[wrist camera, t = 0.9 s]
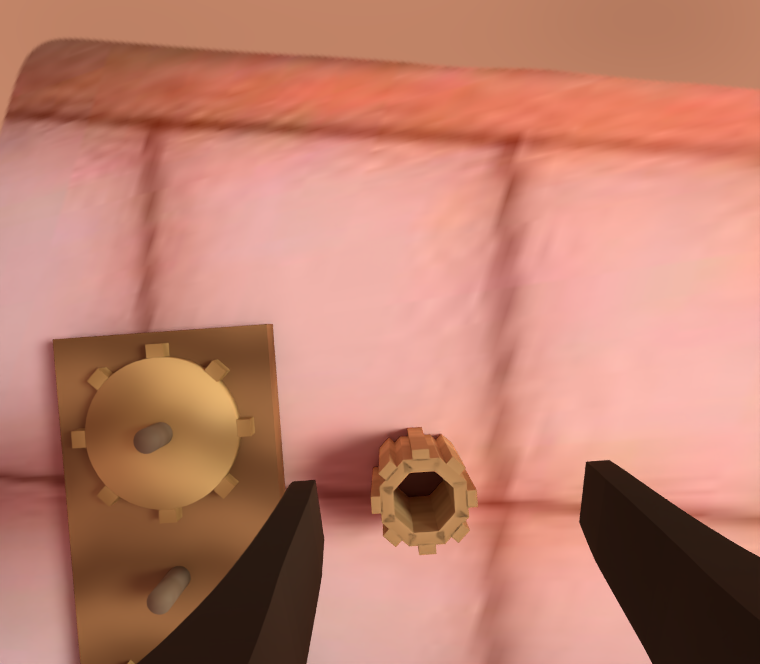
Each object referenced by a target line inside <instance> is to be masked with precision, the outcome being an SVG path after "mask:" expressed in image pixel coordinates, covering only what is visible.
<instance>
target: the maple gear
mask: <svg viewBox="0 0 760 664" xmlns="http://www.w3.org/2000/svg"><path fill="white" fill-rule="evenodd" d="M407 432H408V436H401V437H399V438H398V439H397V440H396V442H394V441H392V440H391V439H390V438H388V439H387V440H386V441H385V442H384V443H383V445H382V446H381V447H380V448H379V467H373V474H372V487H371V508H372V514H380V513H381V516H382V523H383V536H384V537H385V538H386V539H387V540H388V541H389V542H390V543H392V544H393V545H394V546H395V547H396V546H397V545H398V544H399V543H400V542H401V541H402V540H403V541H404V542H405V543H406V544H407V545H408V546H418V549H419V555H427V554H436V544H446V542H447V541H448V540H449V539H450V538H451V537H452V538H453V539H455V540H456V541H457V542H458V543H459V542H460V541H461V540H462V539H463V537H464V536H465V535H466V534H467V533H468V532H469V531H470V530H469V527H468V525H467V522H466V520H467V519H468V518H469V510H468V508H470V507H478V503H477V490H476V488H475V486H474V484H473V483H472V481H471V479H470V477H469V475H468V473H467V472H466V470H465V466H464V464H463V462H462V461H461V459H460V457H459V455H458V453H457V452H456V450H455V448H454V446H453V444H452V443H451V442H450V441H449V440H448V439H446V438H445V437H444V436H443V435H442V434H440V435H439V437H438V438H437V439H434V438H433V437H432V436H431V435H424V433H423V430H422V428H421V427H418V428H407ZM430 471H435V472H436V473H437V474H439V475H440V476H441V477H442V478H443V481H442V482H441V483H440V484H439V485H438V487H437V488H436V489H435V490H434V491H433V492H432V493H431V494H430V496H416V497H408V496H407V495H406V494H405V493H404V492H402V491H401V490H400V489H399V488H398V485H399V484H400V483H401V482H402V481H403V480H404V479H405V477H406V476H407V475H408V474H409V473H415V472H430Z"/></svg>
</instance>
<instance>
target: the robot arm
mask: <svg viewBox="0 0 760 664" xmlns="http://www.w3.org/2000/svg"><path fill="white" fill-rule="evenodd" d="M579 523H580V525H581V528H582V530H583V533H584V535H585V538H586V540H587V543H588V545H589V548H590V550H591V552H592V554H593V557H594V559H595V561H596V563H597V565H598V567H599V569H600V570H601V572H602V574H603V576H604V578H605V579H606V581H607V583H608V585H609V587H610V588H611V590H612V592H613V594H614V595H615V597H616V599H617V601H618V602H619V604H620V606H621V608H622V610H623V611H624V613H625V615H626V617H627V618H628V620H629V622H630V624H631V625H632V627H633V629H634V631H635V632H636V634H637V636H638V638H639V640H640V641H641V643H642V645H643V647H644V648H645V650H646V652H647V654H648V656H649V658H650V660H651V662H652V664H760V557H759V556H757V555H755V554H753V553H751V552H749V551H748V550H746V549H744V548H742V547H741V546H739V545H737V544H735V543H734V542H732V541H730V540H729V539H727V538H726V537H724V536H722V535H721V534H719V533H717V532H716V531H714V530H713V529H711V528H709V527H708V526H706V525H704V524H703V523H701V522H700V521H698V520H697V519H695V518H694V517H692V516H690V515H689V514H687V513H686V512H684V511H683V510H681V509H680V508H678V507H677V506H675V505H674V504H672V503H671V502H669V501H668V500H667V499H665V498H664V497H662V496H661V495H659V494H658V493H656V492H655V491H654V490H652V489H651V488H649V487H648V486H646V485H645V484H644V483H642V482H641V481H639V480H638V479H636V478H635V477H634V476H632V475H631V474H629V473H628V472H626V471H625V470H623V469H622V468H621V467H619V466H618V465H616V464H614V463H613V462H611V461H610V460H604V461H590V462H586V467H585V476H584V485H583V494H582V503H581V511H580V520H579ZM323 550H324V534H323V528H322V521H321V514H320V508H319V501H318V494H317V487H316V481H315V480H308V481H294V482H292V483H291V484H290V485H289V486H288V488H287V490H286V491H285V493H284V495H283V496H282V498H281V499H280V501H279V503H278V504H277V506H276V507H275V509H274V510H273V512H272V513H271V515H270V516H269V518H268V519H267V521H266V522H265V524H264V525H263V527H262V528H261V529H260V531H259V532H258V534H257V535H256V536H255V538H254V539H253V541H252V542H251V543H250V545H249V546H248V547H247V549H246V550H245V551H244V553H243V554H242V555H241V556H240V558H239V559H238V560H237V561H236V563H235V564H234V565H233V567H232V568H231V569H230V570H229V572H228V573H227V574H226V575H225V576H224V578H223V579H222V580H221V581H220V582H219V583H218V585H217V586H216V587H215V588H214V589H213V590H212V591H211V592H210V594H209V595H208V596H207V597H206V598H205V599H204V600H203V601H202V602H201V603H200V604H199V605H198V607H197V608H196V609H195V610H194V611H193V612H192V613H191V614H190V615H189V616H188V617H187V618H186V619H185V620H184V621H183V622H182V623H181V624H180V625H179V626H178V627H177V628H176V629H175V630H174V631H173V632H171V633H170V634H169V635H168V636H167V637H166V638H165V639H164V640H163V641H162V642H161V643H160V644H159V645H158V646H156V647H155V648H154V649H153V650H152V651H151V652H150V653H148V654H147V655H146V656H145V657H144V658H143V659H141V660H140V661H139V662H138V663H137V664H306V663H307V658H308V652H309V646H310V641H311V635H312V630H313V624H314V619H315V613H316V607H317V602H318V596H319V590H320V584H321V578H322V566H323Z"/></svg>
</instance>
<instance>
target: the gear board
mask: <svg viewBox="0 0 760 664" xmlns="http://www.w3.org/2000/svg"><path fill="white" fill-rule="evenodd" d="M53 349H54V361H55V373H56V384H57V396H58V408H59V419H60V431H61V443H62V454H63V466H64V478H65V490H66V501H67V513H68V525H69V536H70V548H71V560H72V571H73V583H74V595H75V606H76V618H77V630H78V642H79V653H80V664H137V663H138V662H139V661H140V660H141V659H143V658H144V657H145V656H146V655H147V654H148V653H150V652H151V651H152V650H153V649H154V648H155V647H156V646H158V645H159V644H160V643H161V642H162V641H163V640H164V639H165V638H166V637H167V636H168V635H169V634H170V633H171V632H173V631H174V630H175V629H176V628H177V627H178V626H179V625H180V624H181V623H182V622H183V621H184V620H185V619H186V618H187V617H188V616H189V615H190V614H191V613H192V612H193V611H194V610H195V609H196V608H197V607H198V605H199V604H200V603H201V602H202V601H203V600H204V599H205V598H206V597H207V596H208V595H209V594H210V592H211V591H212V590H213V589H214V588H215V587H216V586H217V585H218V583H219V582H220V581H221V580H222V579H223V578H224V576H225V575H226V574H227V573H228V572H229V570H230V569H231V568H232V567H233V565H234V564H235V563H236V561H237V560H238V559H239V558H240V556H241V555H242V554H243V553H244V551H245V550H246V549H247V547H248V546H249V545H250V543H251V542H252V541H253V539H254V538H255V536H256V535H257V534H258V532H259V531H260V529H261V528H262V527H263V525H264V524H265V522H266V521H267V519H268V518H269V516H270V515H271V513H272V512H273V510H274V509H275V507H276V506H277V504H278V503H279V501H280V499H281V498H282V496H283V495H284V493H285V481H284V468H283V454H282V441H281V428H280V415H279V402H278V388H277V375H276V362H275V349H274V336H273V324H263V325H249V326H235V327H221V328H207V329H193V330H179V331H165V332H151V333H137V334H123V335H109V336H95V337H81V338H67V339H53Z"/></svg>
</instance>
